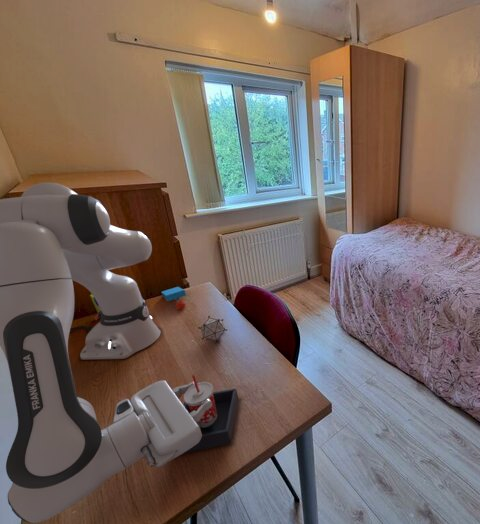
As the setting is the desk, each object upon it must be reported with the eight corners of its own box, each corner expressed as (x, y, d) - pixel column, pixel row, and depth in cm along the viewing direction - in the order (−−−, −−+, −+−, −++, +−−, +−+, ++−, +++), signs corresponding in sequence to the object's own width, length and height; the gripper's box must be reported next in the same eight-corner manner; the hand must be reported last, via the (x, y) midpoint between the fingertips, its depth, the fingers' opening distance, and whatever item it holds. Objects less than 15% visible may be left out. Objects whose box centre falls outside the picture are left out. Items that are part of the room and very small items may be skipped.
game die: (214, 344, 103) (205, 318, 104) (235, 336, 103) (226, 310, 104) (198, 349, 94) (189, 321, 96) (220, 340, 94) (211, 312, 95)
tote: (174, 455, 64) (168, 442, 62) (190, 408, 75) (186, 396, 73) (231, 443, 66) (227, 431, 64) (239, 399, 77) (236, 388, 75)
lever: (166, 306, 128) (173, 313, 115) (161, 291, 127) (167, 296, 113) (183, 300, 133) (191, 306, 119) (178, 286, 131) (186, 290, 117)
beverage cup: (220, 425, 68) (207, 382, 62) (191, 434, 66) (175, 390, 60) (221, 404, 73) (209, 363, 67) (194, 412, 71) (180, 370, 65)
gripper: (146, 461, 50) (222, 408, 59) (115, 398, 62) (182, 362, 71) (157, 482, 52) (228, 428, 62) (125, 418, 65) (188, 381, 74)
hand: (203, 392), depth 67 cm, fingers closed on beverage cup, 6 cm apart
